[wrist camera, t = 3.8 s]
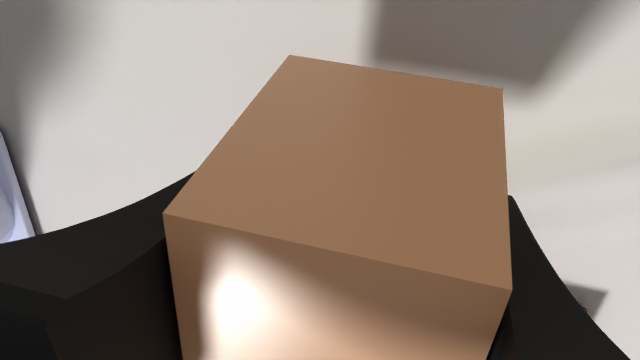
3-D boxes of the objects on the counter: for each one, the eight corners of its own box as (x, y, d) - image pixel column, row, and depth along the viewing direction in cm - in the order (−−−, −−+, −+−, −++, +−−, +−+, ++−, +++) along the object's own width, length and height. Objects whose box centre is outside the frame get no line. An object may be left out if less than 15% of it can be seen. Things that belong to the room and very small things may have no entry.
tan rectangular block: (284, 215, 17) (189, 407, 11) (289, 55, 14) (162, 213, 8) (456, 252, 16) (440, 478, 10) (502, 88, 13) (512, 289, 7)
